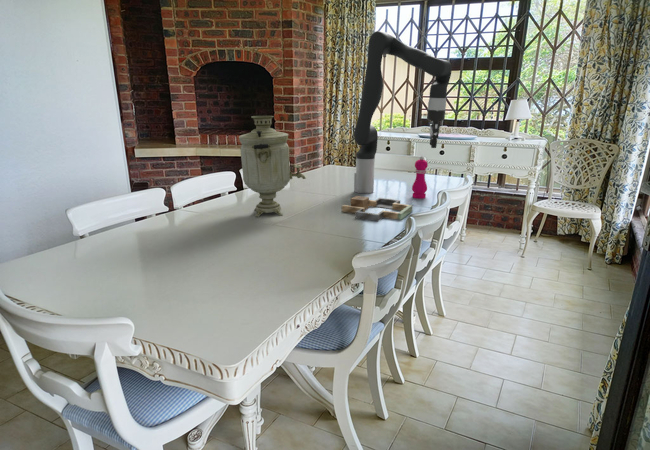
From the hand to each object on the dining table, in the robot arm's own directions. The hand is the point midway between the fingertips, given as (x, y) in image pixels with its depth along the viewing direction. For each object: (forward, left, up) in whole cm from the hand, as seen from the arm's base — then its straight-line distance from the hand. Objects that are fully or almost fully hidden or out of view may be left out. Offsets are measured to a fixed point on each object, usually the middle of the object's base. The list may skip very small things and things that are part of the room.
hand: (432, 146), depth 188 cm
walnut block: (-24, -25, -26) cm, 43 cm away
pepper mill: (-7, +8, -26) cm, 28 cm away
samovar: (-53, -49, -26) cm, 76 cm away
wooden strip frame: (-16, -25, -26) cm, 39 cm away
